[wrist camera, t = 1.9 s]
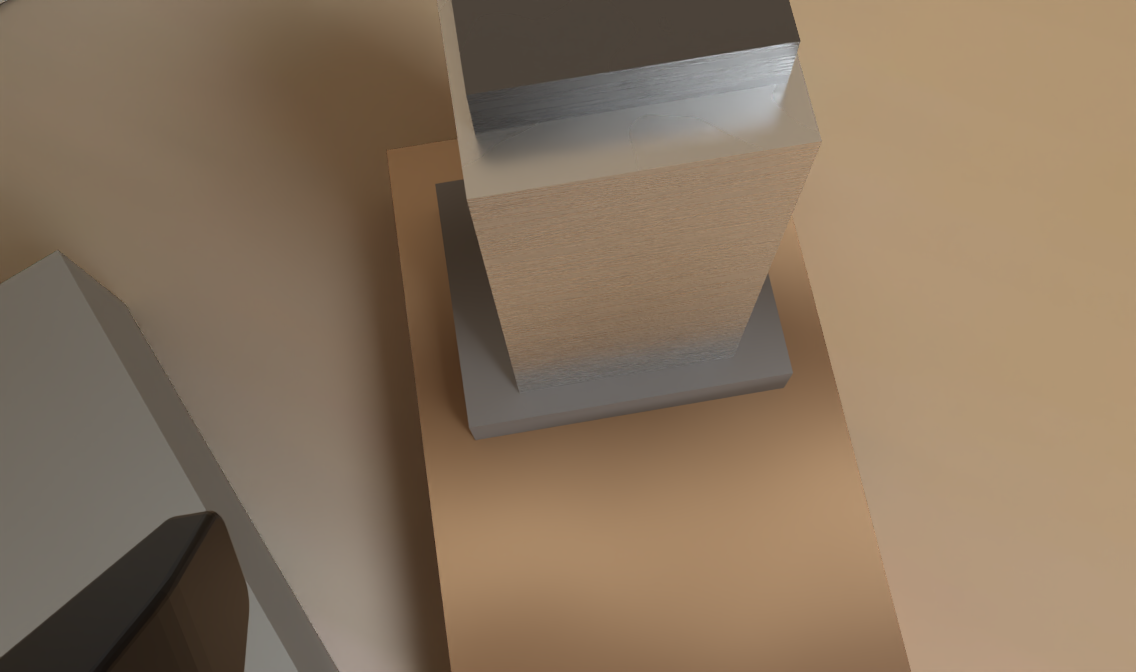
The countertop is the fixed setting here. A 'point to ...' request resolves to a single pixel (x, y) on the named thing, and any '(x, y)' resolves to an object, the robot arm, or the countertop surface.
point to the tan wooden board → (635, 482)
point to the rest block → (108, 464)
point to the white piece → (626, 172)
